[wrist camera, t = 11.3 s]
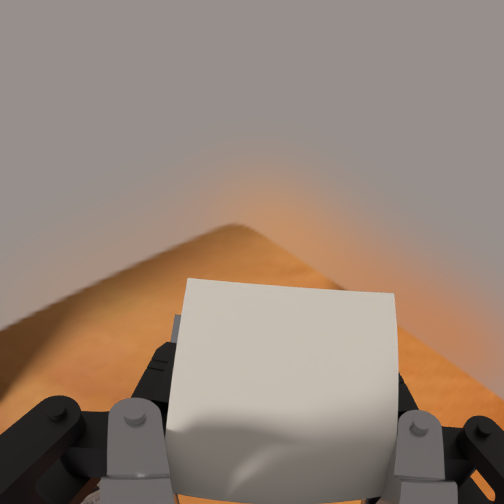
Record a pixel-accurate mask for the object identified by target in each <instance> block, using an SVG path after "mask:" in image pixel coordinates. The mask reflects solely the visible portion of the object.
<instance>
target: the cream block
mask: <svg viewBox="0 0 504 504" xmlns="http://www.w3.org/2000/svg"><path fill="white" fill-rule="evenodd" d="M397 420H398V340H397V322H396V308H395V298H394V293H381V292H380V293H379V292H362V291H344V290H328V289H313V288H299V287H285V286H272V285H260V284H248V283H236V282H225V281H214V280H203V279H193V278H188V280H187V286H186V291H185V297H184V303H183V309H182V315H181V321H180V327H179V333H178V340H177V347H176V353H175V360H174V368H173V375H172V382H171V390H170V398H169V407H168V416H167V425H166V434H165V443H166V449H167V454H168V460H169V466H170V471H171V477H172V482H173V487H174V491H175V493H176V494H181V495H186V496H192V497H198V498H205V499H212V500H220V501H229V502H240V503H255V504H319V503H333V502H344V501H353V500H361V499H368V498H374V497H380V496H382V494H383V492H384V489H385V486H386V480H387V473H388V465H389V460H390V457H391V454H392V451H393V448H394V444H395V441H396V437H397Z"/></svg>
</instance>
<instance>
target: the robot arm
mask: <svg viewBox="0 0 504 504" xmlns="http://www.w3.org/2000/svg"><path fill="white" fill-rule="evenodd" d="M176 347H177V343H172V342H166V343H165V344H163V345H162V346H161V347H159V348H158V349H157V350H156V352H155V353H154V355H153V357H152V359H151V361H150V363H149V364H148V366H147V369H146V370H145V372H144V374H143V376H142V377H141V379H140V381H139V383H138V385H137V387H136V389H135V391H134V392H133V394H132V396H131V398H128V399H124V400H121V401H119V402H117V403H116V404H115V405H114V406H113V407H112V408H111V410H110V411H107V412H90V411H81V409H80V407H79V405H78V403H77V402H76V401H75V400H73V399H72V398H70V397H67V396H60V395H58V396H51V397H48V398H46V399H44V400H43V401H41V402H40V403H39V404H38V405H36V406H35V407H34V408H33V409H31V410H30V411H29V412H28V413H27V414H25V415H24V416H23V417H22V418H20V419H19V420H18V421H17V422H16V423H14V424H13V425H12V426H11V427H9V428H8V429H7V430H6V431H5V432H3V433H2V434H1V435H0V504H81V503H82V502H83V501H84V499H85V498H86V497H87V496H88V495H89V494H90V492H91V491H92V490H93V489H94V488H95V487H96V485H97V484H98V483H99V482H100V504H180V503H179V499H178V494H176V493H175V491H174V487H173V482H172V477H171V471H170V466H169V460H168V454H167V449H166V443H165V434H166V425H167V416H168V407H169V398H170V390H171V382H172V375H173V368H174V360H175V353H176ZM476 469H477V471H478V472H479V473H480V474H481V475H482V477H483V478H484V479H485V480H486V482H487V483H488V484H489V485H490V486H491V488H492V489H493V490H494V492H495V501H490V500H489V499H488V498H487V497H486V496H485V495H484V493H483V492H482V491H481V490H480V488H479V487H478V486H477V484H476V483H475V482H474V481H473V479H472V478H471V477H470V476H471V475H472V474H473V473H474V471H475V470H476ZM361 504H504V431H503V430H502V429H501V428H500V427H499V426H498V425H497V424H496V423H495V422H494V421H493V420H491V419H490V418H488V417H485V416H473V417H471V418H469V419H468V420H467V422H466V423H465V425H464V426H463V428H455V427H443V426H441V424H440V422H439V420H438V419H437V418H436V417H435V416H433V415H432V414H430V413H428V412H426V411H422V410H419V409H418V407H417V405H416V403H415V401H414V399H413V397H412V395H411V393H410V392H409V390H408V388H407V386H406V384H405V383H404V380H403V378H402V377H401V376H400V373H399V371H398V420H397V437H396V441H395V444H394V448H393V451H392V454H391V457H390V460H389V465H388V473H387V480H386V486H385V489H384V492H383V494H382V496H380V497H374V498H368V499H362V500H361Z"/></svg>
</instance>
